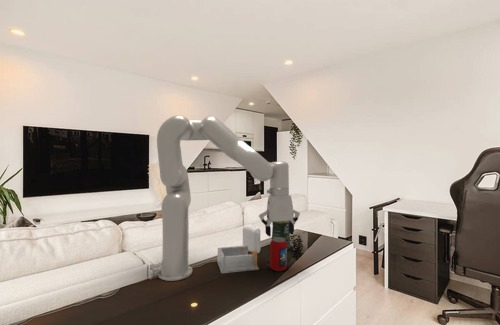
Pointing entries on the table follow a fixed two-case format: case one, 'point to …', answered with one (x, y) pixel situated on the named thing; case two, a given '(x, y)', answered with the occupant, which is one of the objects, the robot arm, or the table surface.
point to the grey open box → (236, 259)
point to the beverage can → (278, 254)
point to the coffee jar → (281, 231)
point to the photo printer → (251, 237)
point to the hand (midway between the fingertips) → (279, 234)
